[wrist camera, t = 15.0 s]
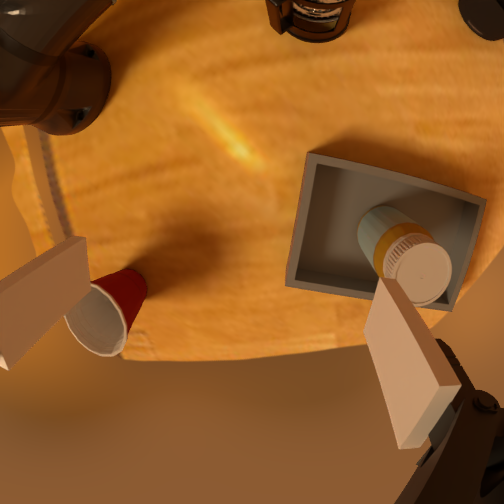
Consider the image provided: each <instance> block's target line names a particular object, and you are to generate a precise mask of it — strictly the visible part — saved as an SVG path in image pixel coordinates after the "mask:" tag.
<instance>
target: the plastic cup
mask: <svg viewBox="0 0 504 504" xmlns="http://www.w3.org/2000/svg"><path fill="white" fill-rule="evenodd" d="M90 284H91V291H90V292H89V293H88V294H87V295H85V296H84V297H83V298H82V299H81V300H80V301H79V302H78V303H77V304H76V305H75V306H74V307H73V308H71V309H70V310H69V311H68V312H67V313H66V314H65V315H64V317H65V320H66V322H67V325H68V327H69V330H70V331H71V332H72V334H73V335H74V336H75V338H76V339H77V340H78V342H79V343H81V344H82V345H83V346H84V347H85V348H87V349H88V350H89V351H91V352H93V353H95V354H98V355H100V356H114V355H116V354H118V353H119V352H121V351H122V350H123V347H124V345H125V343H126V341H127V339H128V333H129V330H130V328H131V326H132V323H133V322H134V320H135V318H136V316H137V314H138V312H139V310H140V308H141V306H142V303H143V301H144V299H145V297H146V294H147V285H146V282H145V280H144V278H143V277H142V276H141V275H140V274H139V273H138V272H136V271H135V270H131V269H124V270H120V271H117V272H115V273H113V274H109V275H106V276H104V277H101V278H99V279H96V280H94V281H91V282H90Z"/></svg>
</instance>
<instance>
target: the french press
mask: <svg viewBox="0 0 504 504" xmlns="http://www.w3.org/2000/svg"><path fill="white" fill-rule="evenodd" d="M265 1H266V6H267V11H268V15H269V20H270V25H271V27H272V28H273V29H275V30H276V31H277V32H278V33H279V34H280V35H282V34H283V33H284V32H286V31H287V32H288V33H289V34H290V35H292V36H294V37H295V38H297V39H299V40H302V41H305V42H310V43H324V42H329V41H332V40H334V39H336V38H338V37H339V36H340V35H342V34H343V33H344V31H345V30H346V29H347V26H348V24H349V19H350V15H351V10H352V8H353V5H354V3H355V1H356V0H265ZM294 16H296V17H298V18H300V19H303V20H306V21H310V22H315V23H327V22H333V21H336V20H337V22H336V25H335V27H334V28H333V29H331V30H329V31H327V32H311V31H306V30H304V29H301V28H299V27H297V26H295V25H294Z"/></svg>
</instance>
